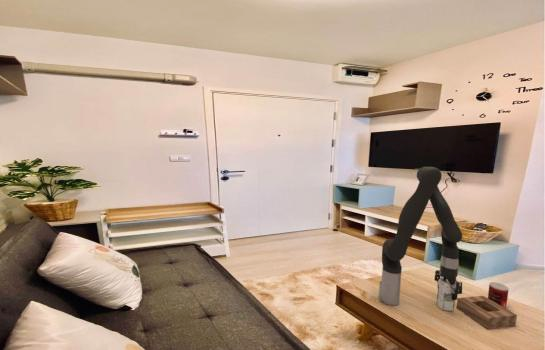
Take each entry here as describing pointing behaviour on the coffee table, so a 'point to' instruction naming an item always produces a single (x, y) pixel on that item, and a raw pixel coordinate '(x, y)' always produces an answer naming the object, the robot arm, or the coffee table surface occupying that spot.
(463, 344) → the coffee table surface
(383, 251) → the robot arm
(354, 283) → the coffee table surface
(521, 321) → the coffee table surface
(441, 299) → the syrup box
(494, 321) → the hollow square frame
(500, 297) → the canned food
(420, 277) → the coffee table surface
